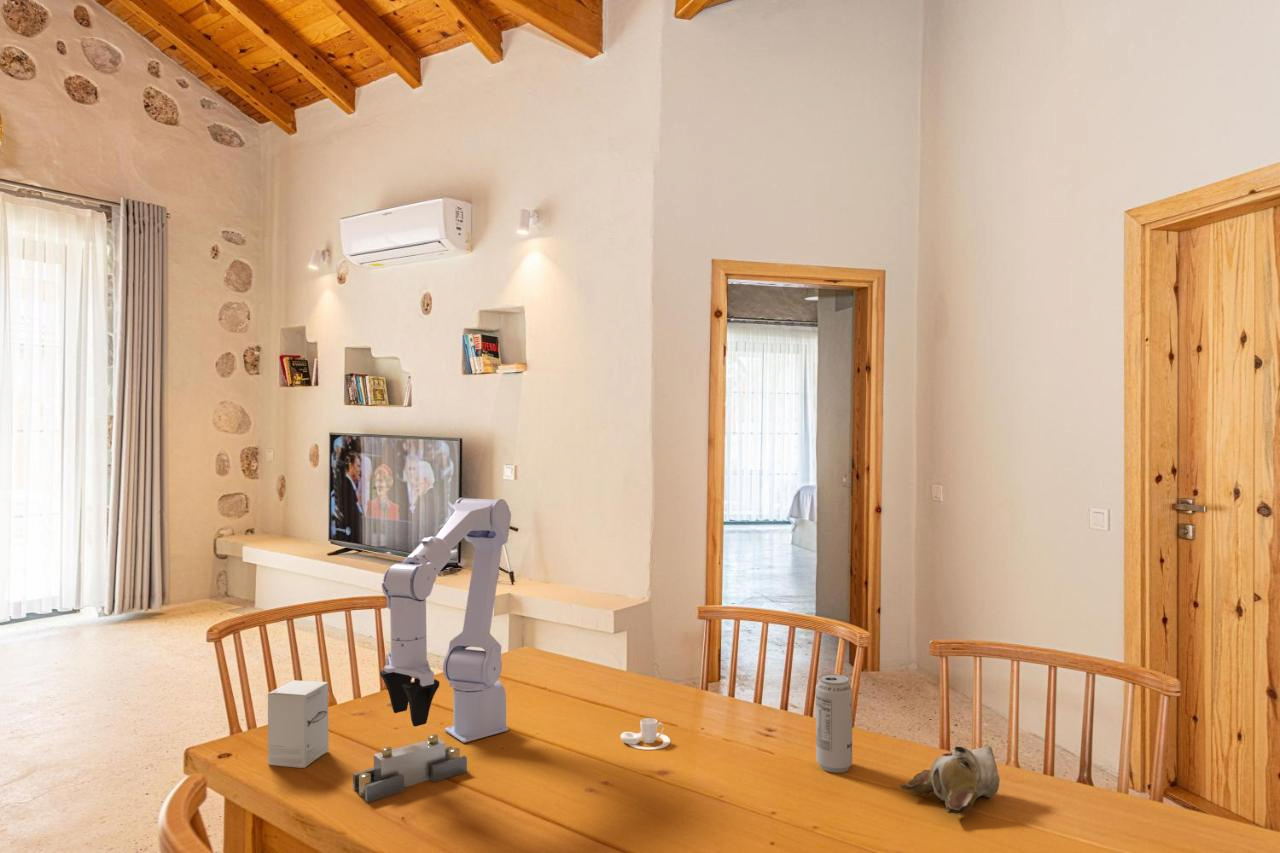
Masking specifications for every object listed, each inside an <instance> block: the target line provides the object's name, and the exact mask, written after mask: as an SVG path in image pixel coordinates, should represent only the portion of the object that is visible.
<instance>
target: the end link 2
mask: <svg viewBox="0 0 1280 853" xmlns="http://www.w3.org/2000/svg"><path fill="white" fill-rule="evenodd" d="M460 750H461V749H460V748H459V747H453V746H451V745H450V746H447V747H446V746H445V762H442V763H438V764H435V765H432V766H431V779H430V780H431V782H432V783H436V782H440V781H443V780H446V779H448V778H449V779H450V778H452V777H456V776H458V775H462V774H465V773H468V757H467V756H466V755H463V756H461V754H460V753H461V751H460Z"/></svg>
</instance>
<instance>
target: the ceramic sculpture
mask: <svg viewBox="0 0 1280 853" xmlns="http://www.w3.org/2000/svg"><path fill="white" fill-rule="evenodd" d="M993 752H994V751H993V748H992V746H991V745H987V746H984V747H980V748H974V749H972V750H970V749H967V748H965V747H962V746H954V748H953V749H952V751H951V752H949V753H944V754H943V753H942V754H941V756H938V757H936V758H935V759H934V760H933V762H932V764H931V765H930V766H931V767H930V769H924V770H922V771H921V772H918V773H916V774H915V775H914V776H913V777H912V779H911V780H909V781H908V783H903V784H900V785H899V787H900V789H901V790H905V791H908V792H910V793H913V794H918V795H928V794H930V793H933V792H934V795H935V796H937V798H939V799H940V800H942V801H943V802H944V805H945V808H946V812H947V813H948V814H955V815H960V814H966V813H967V812H968V811H970V809H971V808H972V807H973V805H974V803H975V801H976V800H977V798H979V797H981V796H982V797H985V798H993V797H994V796H995V795H996V794H997V793H998V791H999V788H1000V781H1001V780H1000V776H999V770H998V767H997V763H996V757H995V755H994V753H993Z"/></svg>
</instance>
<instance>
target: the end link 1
mask: <svg viewBox="0 0 1280 853" xmlns="http://www.w3.org/2000/svg"><path fill="white" fill-rule="evenodd" d="M352 780H353V781H352V786H353V788H352V789H353V791H354V792H356V791H358V796H359V797H361V798H364V800H365V802H366V803H367V804H369V803H372V802H375V801H377V800H381V799H384V798H387V797H390V796H394V795H397V794H401V793H403V792H405V787H404V775H402V774H401V775H398V776H394V777H391V778H387V779H384V780H381V781H377V782H374V767H372V768H368V769H365V770H362V771H358V772H355V773H352Z"/></svg>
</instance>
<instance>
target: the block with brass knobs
mask: <svg viewBox="0 0 1280 853" xmlns="http://www.w3.org/2000/svg"><path fill="white" fill-rule="evenodd" d="M445 748H446V742H445V741H444V740H442V739H440V737H439V735H438V734H429V735H428V736H427V740H422V741H418V742H415V743H412V744H408V745H404V746H401V747H396V748H392V747H391V746H384V747H382V748H381V749H380V752H378V753H374V754H373V768H374V782H377V781H381V780H384V779H387V778H391V777H394V776H398V775H401V774H402V775H404V788H406V787H407V788H408V787H410V786H414V785H417V784H420V783H423V782H426V781H430V780H431V766H432V765H435V764H438V763H442V762H445Z"/></svg>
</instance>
